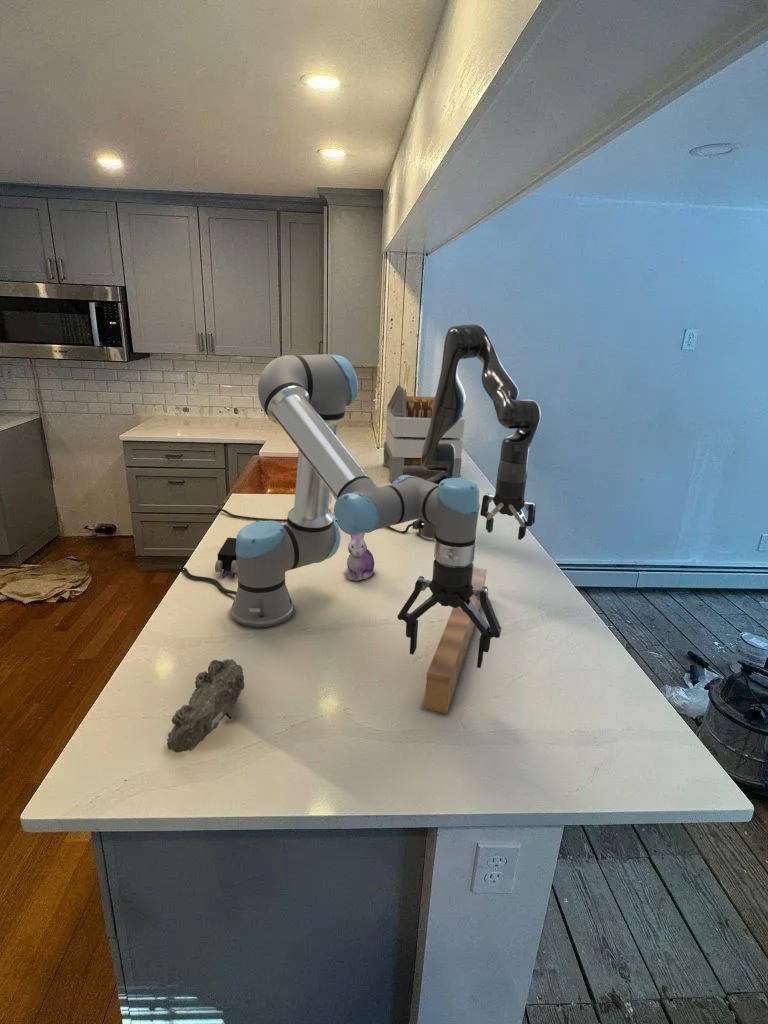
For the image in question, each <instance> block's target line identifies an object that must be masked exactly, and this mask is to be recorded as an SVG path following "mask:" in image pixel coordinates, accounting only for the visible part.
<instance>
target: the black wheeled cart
mask: <svg viewBox="0 0 768 1024" xmlns="http://www.w3.org/2000/svg"><path fill="white" fill-rule="evenodd" d="M235 549H236V537H226V539H225V541H224V543H223V544H222V546H221V547H220V549H219V551H218V552H217V560H216V562H215V564H214V572H215V573H221V577H222V578H224V577H225V576H226V574H227V573H230V574H231V573H232V574H231V578H234V577H235V575H236V573H237V557H236V550H235Z"/></svg>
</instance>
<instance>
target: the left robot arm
mask: <svg viewBox="0 0 768 1024" xmlns="http://www.w3.org/2000/svg"><path fill="white" fill-rule="evenodd" d="M358 394H359V381H358V376H357V372H356V370H355V369H354V367H353V365H352V363H351V362H350V361H349V360H348V359H347V358H346V357H344V356H342V355H339V354H328V353H323V354H322V353H321V354H320V353H319V354H299V355H298V354H296V355H295V354H286V355H281V356H278V357H277V358H275V359H273V360H271V361H270V362H269V363H268V364H267V365H266V366H264V369H263V370H262V372H261V374H260V376H259V379H258V383H257V395H258V400H259V403H260V406H261V408H262V410H263V411H264V413H265V414H266V416H267V417H268V418H269V420H270V421H271V422H272V423H274V424H276V425H280V426H281V428H282V429H283V431H284V432H285V433H286V435H287V436H288V437H289V439H290V440H291V441H292V443H293V444H294V445H295V447H296V448H297V450H298V451H297V452H298V453H297V465H296V480H295V492H294V504H293V505H294V507H292V508H291V509H290V510H289V511H288V512H287V517H286V518H287V522H286V523H284V524H282V522H281V521H273V520H268V521H262V520H257V521H254V522H251V523H249V524H247V525H245V526H243V527H242V528H240V530H239V531H238V533H237V535H236V537H235V538H236V549H235V550H236V557H237V572H236V573H237V574H236V575H237V589H236V590H232V589H227V588H225V587H224V586H222V584H221V583H220V582H219V580H217V579H215V578H212V577H208V576H199V575H195V574H191V573H190V572H189V570H188V569H187V567H185V566H182V567H181V568H180V570H179V571H180V572H184V574H185V575H186V576H187V577H188V578H190V579H193V580H197V581H198V580H199V581H206V582H211V583H213V584H215V585H216V587H217V588H218V589H219V590H220V591H221V592H222V593H225V594H230V595H234V600H233V602H232V605H231V617H232V619H233V620H234V622H236V623H237V624H240V625H242V626H245V627H250V628H269V627H274V626H278V625H280V624H282V623H284V622H287V620H289V619H290V618H291V617H292V615H293V612H294V604H293V600H292V597H291V595H290V592H289V590H288V587H287V583H286V572H289V571H291V570H292V571H293V570H295V569H299V568H302V567H305V566H309V565H312V564H313V565H314V564H318V563H322V562H324V561H326V560H328V559H331V558H332V557H334V556H335V555H336V553H337V552H338V550H339V548H340V544H341V532H340V531H339V529H340V530H341V531H342V532H343V533H345V534H346V535H350V536H351V535H356V534H362V533H365V534H370V533H372V532H374V531H377V530H381V529H385V527H388V526H390V527H391V526H395V525H396V526H397V525H400V524H404V523H407V522H412V521H416V520H418V519H421V520H423V521H425V522H428V523H431V524H434V525H436V533H435V541H434V549H433V550H434V551H433V558H434V560H433V564H432V576H431V577H432V578H431V580H428V579H426V578H425V577H424V576H423V575H420V576H418V578H417V579H416V581H415V584H414V590H413V591H412V593H411V594H410V595H409V597H408V599H407V600H406V601H405V603H404V605H403V606H402V608H401V610H400V611H399V613H398V614H397V616H396V617H397V620H399V621H404V622H405V637H406V638H410V639H409V642H410V643H409V655H412V656H413V655H414V654H415V652H416V650H417V646H418V631H419V630H418V629H419V618H420V617H421V616H423V615H424V614H425V613H427V611H429V610H430V609H431V608H433V607H434V606H436V605H437V604H440V606H441V607H451V608H452V609H453V608H457V607H461V609H462V610H463V611H464V612H465V613H466V614H467V615H468V616H469V618H470V619H471V620H472V622H473V623H474V624H475V625H474V627H475V628H476V629H477V630H478V631H479V633H480V636H479V641H478V642H479V643H478V652H477V660H476V668H477V669H482V664H483V662H484V661H483V660H484V653H487V654H488V653H489V651H490V648H491V639H492V638H496V639H499V638H500V636H501V633H502V627H501V624H500V622H499V620H498V618H497V615H496V613H495V610H494V608H493V605H492V603H491V600H490V597H489V588H488V586H486V585H485V586H484V587H482V589H481V588H473V586H472V575H473V567H474V563H473V562H474V561H475V552H476V544H477V543H476V541H477V540H476V539H477V537H476V535H477V526H478V519H479V514H480V513H479V511H480V510H481V505H480V487H479V485H478V483H476V482H475V481H473V480H471V479H467V478H461V477H460V478H448V479H444V480H442V481H441V482H440V483H439V485H438V484H435V483H432V482H430V481H427V479H424V478H422V477H419V476H416V475H409V474H403V475H402V476H400V477H398V478H397V479H396V480H395V481H393V482H391V484H390V485H389V484H388V485H383V486H377V484H375V482H374V481H373V480H372V479H371V478H370V477H369V475H368V474H367V473H366V472H365V470H364V469H363V468H362V467H361V465H359V463H358V462H357V461H356V459H355V458H354V456H353V455H352V454H351V453H350V452H349V450H348V449H347V448H346V447H345V445H344V444H343V443H342V442H341V440H340V438H338V436H337V428H338V423H339V422H341V421H342V420H343V419H344V418H345V415H346V407H348V406H350V405H353V403H355V400H357V397H358ZM330 492H331V494H332V497H333V498H334V499H335V503H334V507H333V514H332V512H331V511H330V510H328V506H329V496H330ZM329 507H330V506H329ZM333 515H334V516H333ZM335 520H337V522H336V521H335ZM183 569H184V570H183ZM428 588H429V590H430V592H431V595H430V596H429V597H427V598H426V600H424V601H423V602H422V603H421V604H419V606H418V607H416V608H414V610H413V611H412V612H410V613H409V611H410V609H411V608H412V606H413V605H414V603H415V602H416V600H417V598H418V597H419V595H420V594H421V592H424V591H426V589H428ZM472 595H475V596H476V598H477V599H478V600H480V604H481V606H480V608H481V609H482V612H483V613H484V616H485V618H486V619H484V617H483V616H482V615H481V613H480V611H479V612H478V610H477V609H476V608H475V606H474V605H473V603H472V601H471V599H470V597H471V596H472Z"/></svg>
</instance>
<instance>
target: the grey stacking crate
mask: <svg viewBox="0 0 768 1024" xmlns="http://www.w3.org/2000/svg"><path fill="white" fill-rule="evenodd" d="M407 394H408V393H407V390H406V389H404V388H403V387H402V385H399V384H398V385H397V386H396V388H395V390H394V392H393V394H392V395H391V398H390V400H389V402H388V404H387V405H386V413H385V414H386V415H385V423H386V428H385V438H384V442H383V466H384V467H388V468H389V475H388V476H389V477H388V478H389V480H390V482H391V483H393V481H395V480H396V479H397V478H398V477H400V476H402V475H404V469H405V466H406V467H407V466H411V467H412V466H413V467H415V466H416V467H417V466H418V467H422V465H421V454H422V449H423V446H424V442H425V439H426V436H427V433H428V430H429V426H430V421H431V416H432V411H433V405H434V400H435V396H415V395H414V396H413V395H412V396H411V395H407ZM464 429H465V419H464V418H463V414H462V415H461V417H460V419H459V420H458V422H457V423H456V424H455V425H454V426H453V427H452V428H451V429H450V430H449V431H448V432H447V433H445V434H444V435H443V437H442V438H441V439H440V441H439V443H450V444H452V445H453V446H454V449H455V464H454V470H453V478H461V472H462V461H463V460H462V453H463V442H464V441H463V440H462V439H463V438H464V431H465V430H464Z"/></svg>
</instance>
